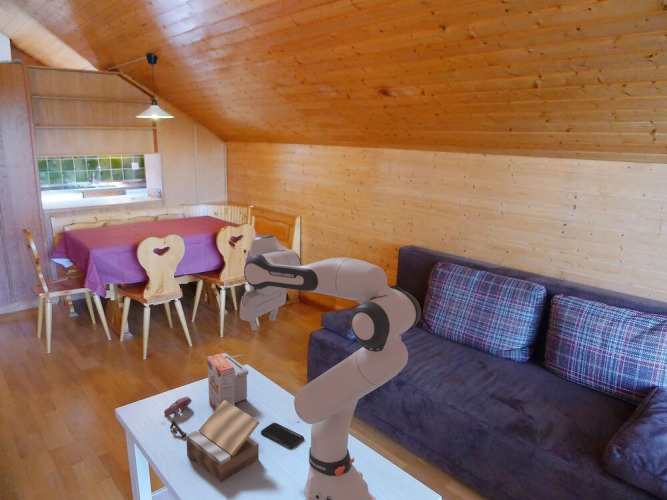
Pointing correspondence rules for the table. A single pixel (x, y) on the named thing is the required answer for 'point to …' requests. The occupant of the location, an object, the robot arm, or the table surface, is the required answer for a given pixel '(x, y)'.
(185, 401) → the video game controller
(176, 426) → the wooden post with brackets
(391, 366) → the robot arm
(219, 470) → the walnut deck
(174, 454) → the table surface
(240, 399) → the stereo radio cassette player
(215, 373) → the cracker box
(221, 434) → the oak plank
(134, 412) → the table surface
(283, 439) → the phone
